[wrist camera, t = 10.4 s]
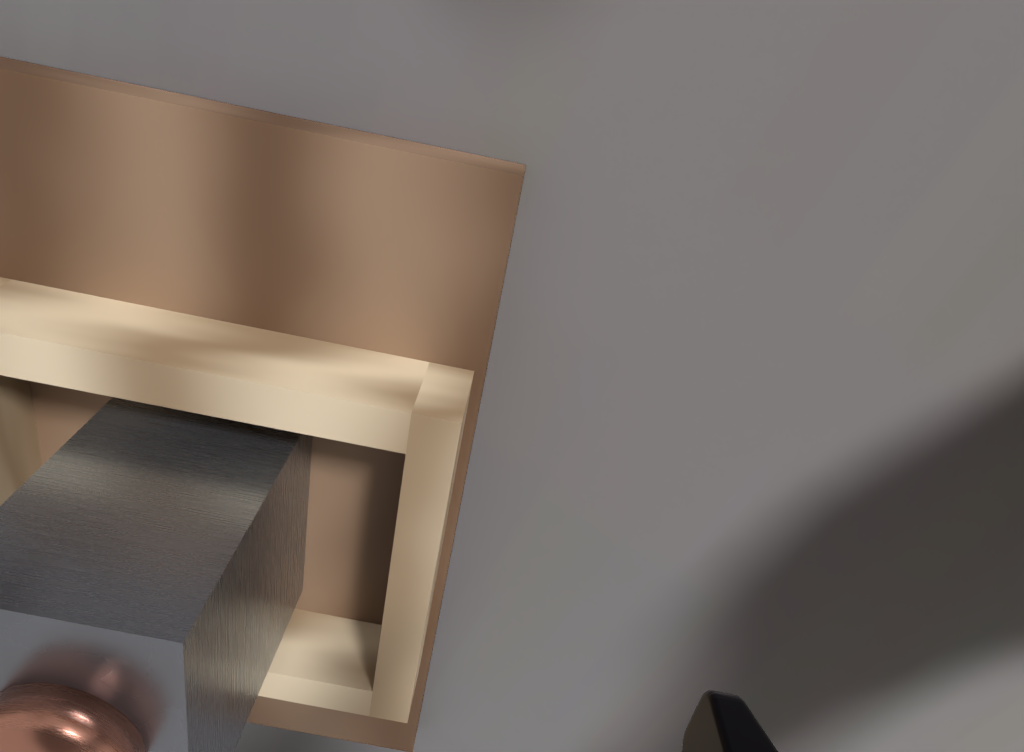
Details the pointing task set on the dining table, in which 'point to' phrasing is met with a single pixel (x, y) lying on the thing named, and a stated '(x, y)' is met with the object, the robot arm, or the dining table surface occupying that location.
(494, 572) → the dining table surface
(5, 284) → the chassis bay
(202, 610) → the block with copper knob
